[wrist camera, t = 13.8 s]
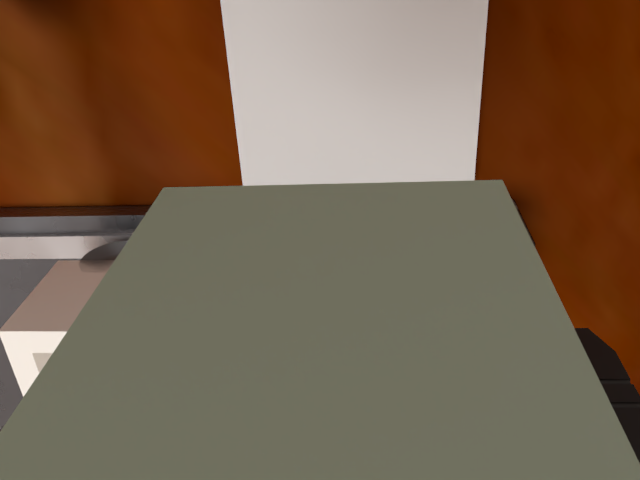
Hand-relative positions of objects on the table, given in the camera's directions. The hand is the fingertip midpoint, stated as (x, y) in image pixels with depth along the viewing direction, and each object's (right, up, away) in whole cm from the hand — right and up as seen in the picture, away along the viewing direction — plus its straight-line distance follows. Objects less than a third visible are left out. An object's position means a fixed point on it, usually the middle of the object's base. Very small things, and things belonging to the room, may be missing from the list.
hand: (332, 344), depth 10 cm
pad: (+1, +9, +15) cm, 18 cm away
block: (0, 0, +1) cm, 1 cm away
